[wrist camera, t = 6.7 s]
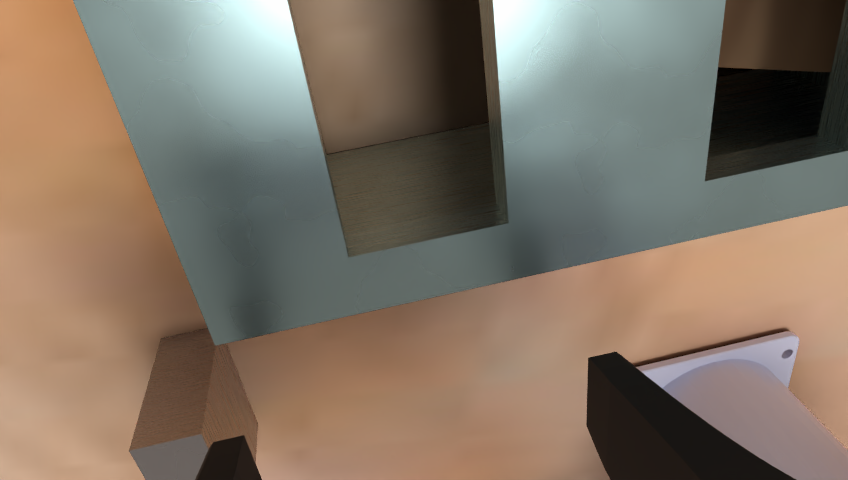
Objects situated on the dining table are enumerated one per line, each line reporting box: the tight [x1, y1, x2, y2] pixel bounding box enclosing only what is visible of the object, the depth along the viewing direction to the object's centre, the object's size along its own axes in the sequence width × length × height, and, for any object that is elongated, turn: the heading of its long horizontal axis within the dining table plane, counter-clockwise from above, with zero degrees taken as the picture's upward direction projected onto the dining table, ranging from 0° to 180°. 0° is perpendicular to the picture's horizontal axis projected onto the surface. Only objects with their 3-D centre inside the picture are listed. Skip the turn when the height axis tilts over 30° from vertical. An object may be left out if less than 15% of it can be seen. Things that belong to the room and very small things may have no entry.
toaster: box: [73, 0, 848, 346], centre depth 15 cm, size 10×19×7 cm, turn 98°
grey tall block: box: [129, 328, 258, 480], centre depth 21 cm, size 5×2×5 cm, turn 8°
